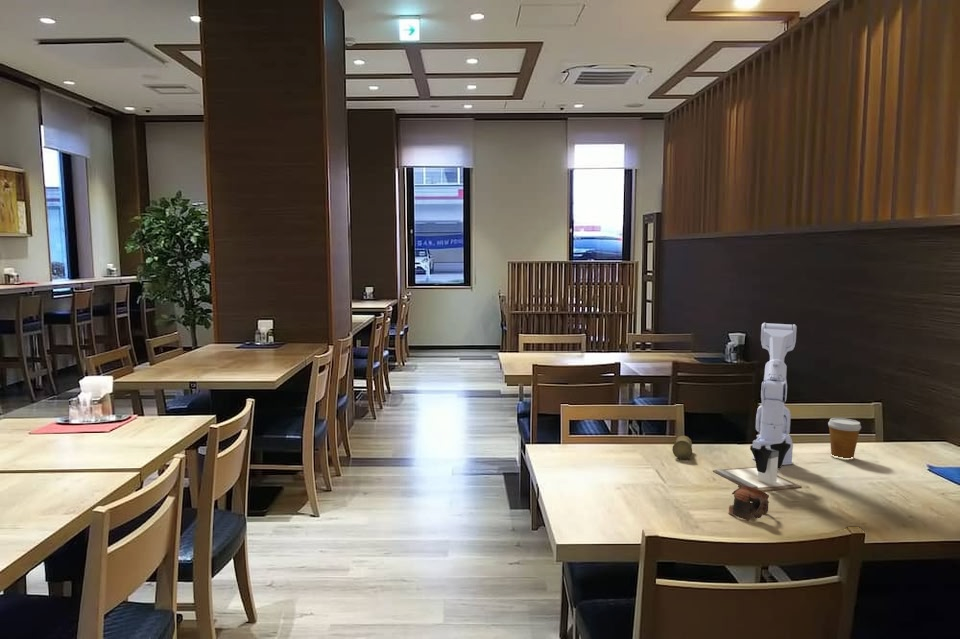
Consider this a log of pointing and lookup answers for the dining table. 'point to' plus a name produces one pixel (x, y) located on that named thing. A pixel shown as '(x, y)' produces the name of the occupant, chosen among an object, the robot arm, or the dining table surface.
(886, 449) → the dining table surface
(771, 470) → the long rectangular beam
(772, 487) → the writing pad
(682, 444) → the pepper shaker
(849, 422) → the disposable coffee cup
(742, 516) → the pottery mug
